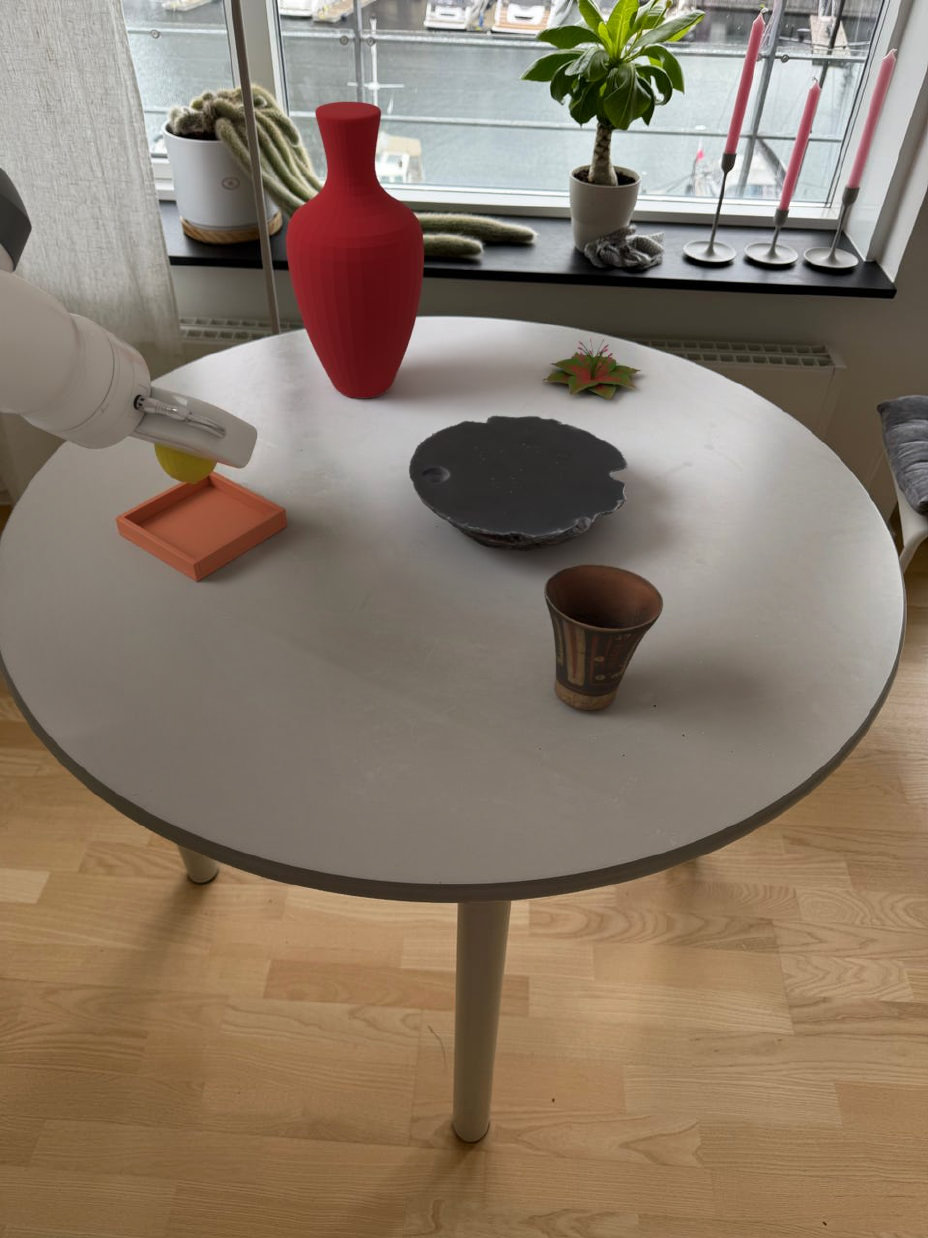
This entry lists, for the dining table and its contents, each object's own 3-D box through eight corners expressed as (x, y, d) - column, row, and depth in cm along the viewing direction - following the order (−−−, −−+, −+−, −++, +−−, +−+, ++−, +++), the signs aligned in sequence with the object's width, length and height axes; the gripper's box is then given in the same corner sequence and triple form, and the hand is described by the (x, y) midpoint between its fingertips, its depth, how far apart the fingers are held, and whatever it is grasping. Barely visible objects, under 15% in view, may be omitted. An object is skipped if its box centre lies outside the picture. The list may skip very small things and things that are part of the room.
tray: (196, 582, 87) (193, 564, 85) (119, 534, 92) (114, 517, 90) (287, 525, 93) (285, 508, 92) (210, 484, 98) (207, 467, 97)
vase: (372, 346, 122) (360, 82, 103) (451, 388, 115) (454, 111, 95) (275, 383, 115) (242, 105, 95) (352, 431, 107) (334, 138, 87)
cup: (643, 651, 81) (661, 556, 74) (647, 730, 74) (668, 633, 68) (537, 642, 82) (547, 547, 75) (532, 720, 75) (542, 623, 68)
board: (365, 538, 92) (362, 494, 89) (462, 433, 107) (463, 391, 104) (583, 605, 85) (589, 559, 82) (654, 482, 100) (661, 439, 97)
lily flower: (615, 414, 111) (620, 378, 108) (524, 386, 115) (526, 350, 112) (657, 374, 118) (663, 338, 115) (570, 349, 123) (573, 314, 120)
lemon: (205, 505, 87) (190, 426, 81) (151, 493, 88) (133, 415, 82) (235, 473, 91) (223, 396, 85) (183, 462, 92) (168, 385, 86)
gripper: (214, 378, 70) (299, 433, 84) (2, 321, 77) (111, 381, 90) (187, 459, 70) (276, 502, 83) (-24, 396, 77) (90, 445, 90)
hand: (189, 439), depth 87 cm, fingers closed on lemon, 5 cm apart
